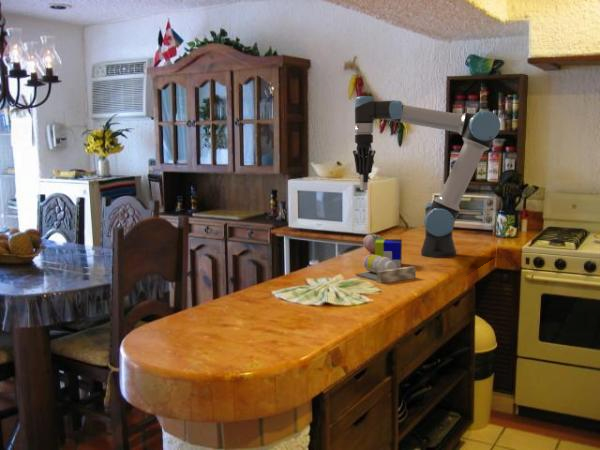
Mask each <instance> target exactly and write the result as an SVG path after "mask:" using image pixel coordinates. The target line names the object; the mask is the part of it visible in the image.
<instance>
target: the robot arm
mask: <svg viewBox="0 0 600 450" xmlns="http://www.w3.org/2000/svg"><path fill="white" fill-rule="evenodd" d="M354 103H355V104H354V125H355V126H354V131H355V132H354V133H355V135H354V142H355V144H357V145H356V149H355V150H353V151H352V154H353V157H354V163H355V171H356V173H357V174H358V175H359V183H360V184H359V185H360V188H359V190H360V191H368V187H369V186H368V185H369V184H368V183H369V175H370V174H371V173H372V172H373V166H374V158H375V154H376V152H377V151H376V150H374V149H373V146H372V143H374V135H373V134H372V133H374V120H385V121H388V122H396V123H401V124H402V123H403V124H409V125H414V126H420V127H425V128H430V129H438V130H444V131H449V132H455V133H459V135H460V136H462V141H463V145H462V147H461V149H460V151H459V154H458V156H457V157H456V159H455V162H454V164H453V167H452V168H451V170H450V173H449V175H448V177H447V180H446V181H445V183H444V186H443V187H442V189H441V192H440V194H439V196H438V197H435V198H434V199H433V200H432V202H428V203H426V204H425V208H424V209H425V217H424V229H425V231H424V232H425V233H424V234H425V235H424V240H423V244H422V247H421V249H420V255H422V256H424V257H429V258H451V257H455V256H457V249H456V247H455V243H454V239H453V229H454V227H455V222H456V220H457V218H458V216H459V214H460V212H461V209H460V206H459V205H460V203H461V201H462V199H463V197H464V194H465V192H466V190H467V188H468V186H469V184H470V182H471V180H472V178H473V176H474V174H475V171H476V170H477V167H478V165H479V163H480V160H481V159H482V156H483V154H484V152H487V151H489V150H490V149H491V147H492V144H493V143H494V141H495V139H496V137H497V136H498V134H499V133H500V130H501V121H500V119H499V117H498V115H496V114H495V113H494V112H492V111H490V110H480V111H478V112H476V113H470V112H464V113H461V114H460V113H456V112H455V113H454V112H448V111H443V110H436V109H432V108H431V109H429V108H424V107H423V108H422V107H417V106H411V105H404V104H403V103H402V101H401V100H394V99H393V100H374V98H373V96H370V95H367V96H366V95H365V96H364V95H363V96H362V95H360V96H357V97H356V98H355V101H354Z"/></svg>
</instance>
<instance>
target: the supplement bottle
mask: <svg viewBox="0 0 600 450" xmlns="http://www.w3.org/2000/svg"><path fill="white" fill-rule="evenodd" d="M363 267H364V270H366V271H367V272H373V273H377V271H381V270H389V269H396V263H395V262H393V261H391V259H389V258H387V257H383V256H378V255H375V253H374V254H372V253H370V254H368V255H366V256H365V257H364V260H363Z"/></svg>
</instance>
